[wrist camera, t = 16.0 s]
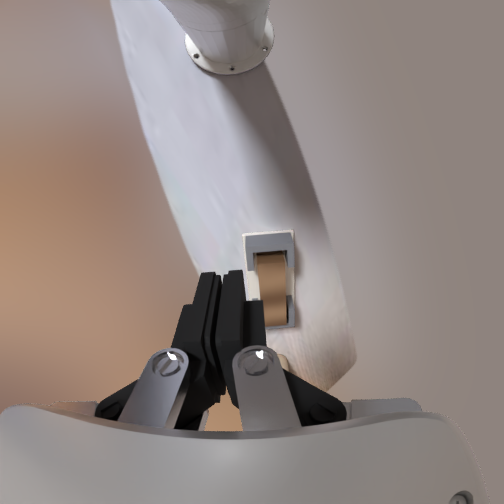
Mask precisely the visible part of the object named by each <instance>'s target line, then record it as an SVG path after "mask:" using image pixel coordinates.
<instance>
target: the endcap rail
mask: <svg viewBox="0 0 504 504" xmlns="http://www.w3.org/2000/svg"><path fill="white" fill-rule="evenodd" d="M242 239H243V248H244V257H245V266H246V275H247V284H248V292H249V301H253V300H260V291H259V280H258V268H257V253H256V252H267V251H279V250H282V252H283V256H284V260H285V276H286V320H287V325H279V326H268V327H265V329H276V328H287V327H295V308H294V267H295V265H294V235H293V230H281V231H268V232H256V233H244V234H242Z"/></svg>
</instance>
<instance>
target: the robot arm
mask: <svg viewBox="0 0 504 504" xmlns="http://www.w3.org/2000/svg"><path fill="white" fill-rule="evenodd" d="M159 1H161V2H162V3H163V4H164V5H165V6H166V7H167V9H168V10H169V11H170V12H171V13H172V15H173V16H174V18H175V19H176V20H177V22H178V23H179V24H180V25H181V27H182V28H183V29H184V31H185V32H186V34H185V46H186V50H187V52H188V54H189V56H190V57H191V59H192V60H193V61H194V62H195V63H196V64H197V65H198V66H200V67H201V68H203V69H205V70H207V71H209V72H212V73H216V74H223V75H231V74H238V73H243V72H246V71H248V70H251V69H253V68H254V67H256V66H258V65H259V64H260V63H261V62H262V61H264V60H265V58H266V57H267V56H268V54H269V53H270V50H271V49H272V46H273V42H274V29H273V26H272V24H271V22H270V20H269V19H268V18H267V13H268V9H269V3H270V0H159ZM263 49H266V50H267V51H263ZM197 56H199V58H198V59H196V57H197ZM231 68H234V70H233V71H231ZM226 386H227V390H228V393H229V395H230V398H231V401H232V404H233V405H234V406H236V407H237V408H238V409H239V410H240V416H241V422H242V427H243V431H235V432H234V431H233V432H232V431H231V432H230V431H227V432H225V431H217V432H216V431H204V428H205V425H206V422H207V418H208V413H209V410H208V408H210V407H211V406H212V405H214V404H215V403H220V396H221V395H225V393H226ZM0 504H490V500H489V496H488V492H487V489H486V485H485V481H484V478H483V475H482V472H481V470H480V467H479V464H478V462H477V459H476V457H475V454H474V452H473V450H472V448H471V446H470V444H469V442H468V440H467V439H466V437H465V435H464V433H463V432H462V430H461V429H460V428H459V426H458V425H457V424H456V423H455V422H454V421H453V420H452V419H450V418H449V417H447V416H445V415H441V414H438V413H433V412H423V411H422V409H421V406H420V405H419V404H418V403H417V402H416V401H415V400H412V399H410V398H394V399H373V400H352V401H351V402H349V403H346V402H341V401H339V400H338V399H337V398H335V397H333V396H331V395H329V394H328V393H326V392H324V391H322V390H320V389H318V388H317V387H315V386H313V385H311V384H309V383H308V382H306V381H304V380H302V379H300V378H299V377H297V376H295V375H294V374H292V373H290V372H288V371H287V370H285V369H283V368H282V366H281V363H280V360H279V357H278V355H277V353H276V352H275V351H273V350H272V349H271V348H268V347H267V344H266V331H265V318H264V305H263V300H253V301H246V294H245V286H244V278H243V271H242V270H232V271H229V272H228V274H226V275H224V277H223V284H222V281H221V276H220V275H216V273H215V272H205V273H201V275H200V279H199V282H198V286H197V290H196V293H195V297H194V301H193V304H188V305H184V306H183V309H182V312H181V315H180V318H179V322H178V325H177V328H176V332H175V335H174V339H173V342H172V345H171V348H167V349H163V350H160V351H158V352H156V353H155V354H153V355H152V356H151V358H150V359H149V361H148V362H147V364H146V366H145V368H144V370H143V372H142V374H141V376H140V377H139V379H138V380H136V381H134V382H133V383H131V384H129V385H128V386H126V387H124V388H122V389H121V390H119V391H117V392H116V393H114V394H112V395H111V396H109V397H107V398H105V399H104V400H102V401H101V402H100V403H99V404H98V403H97V402H96V401H78V402H63V401H59V402H54V403H53V404H51V405H50V406H48V405H42V404H29V403H28V404H17V405H13V406H10V407H8V408H6V409H5V410H4V411H3V412H2V413H1V415H0Z"/></svg>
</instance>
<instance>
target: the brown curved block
mask: <svg viewBox="0 0 504 504" xmlns="http://www.w3.org/2000/svg"><path fill="white" fill-rule="evenodd" d="M256 253H257V268H258V280H259V291H260V300H263V305H264V318H265V327H268V326H279V325H287V320H286V276H285V260H284V256H283V252H282V250H279V251H267V252H256Z"/></svg>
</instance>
